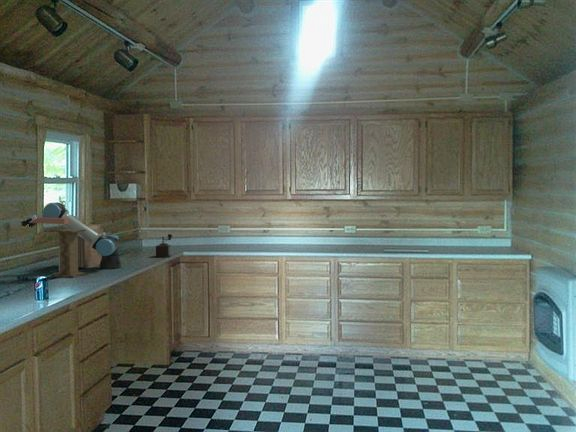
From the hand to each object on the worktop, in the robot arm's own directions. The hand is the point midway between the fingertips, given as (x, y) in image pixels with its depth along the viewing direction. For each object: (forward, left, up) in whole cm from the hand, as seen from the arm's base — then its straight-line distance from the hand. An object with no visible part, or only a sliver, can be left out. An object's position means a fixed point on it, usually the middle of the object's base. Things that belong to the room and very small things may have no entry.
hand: (38, 216), depth 384 cm
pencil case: (-6, +4, -4) cm, 8 cm away
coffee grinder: (-87, -69, -39) cm, 118 cm away
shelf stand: (-19, +13, -38) cm, 45 cm away
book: (-30, -29, -39) cm, 57 cm away
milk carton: (-16, -9, -39) cm, 43 cm away
